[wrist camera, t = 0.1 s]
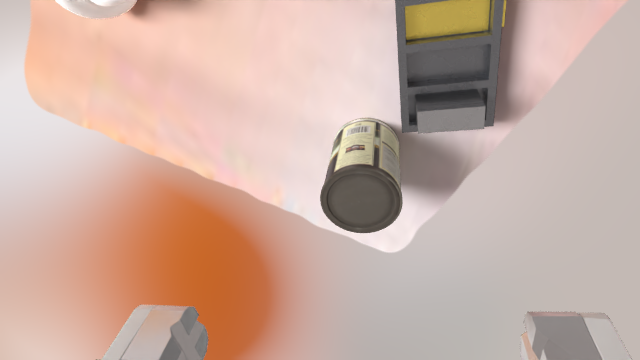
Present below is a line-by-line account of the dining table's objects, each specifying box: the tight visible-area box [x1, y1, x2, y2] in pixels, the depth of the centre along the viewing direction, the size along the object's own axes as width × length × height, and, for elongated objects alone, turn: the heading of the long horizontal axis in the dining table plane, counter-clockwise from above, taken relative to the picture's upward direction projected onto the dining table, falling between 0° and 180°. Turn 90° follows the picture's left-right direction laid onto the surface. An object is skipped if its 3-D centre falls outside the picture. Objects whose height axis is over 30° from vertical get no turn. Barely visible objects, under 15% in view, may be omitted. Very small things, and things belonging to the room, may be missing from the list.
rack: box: [395, 0, 506, 133], centre depth 49 cm, size 18×12×7 cm
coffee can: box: [320, 118, 402, 233], centre depth 56 cm, size 10×10×14 cm
